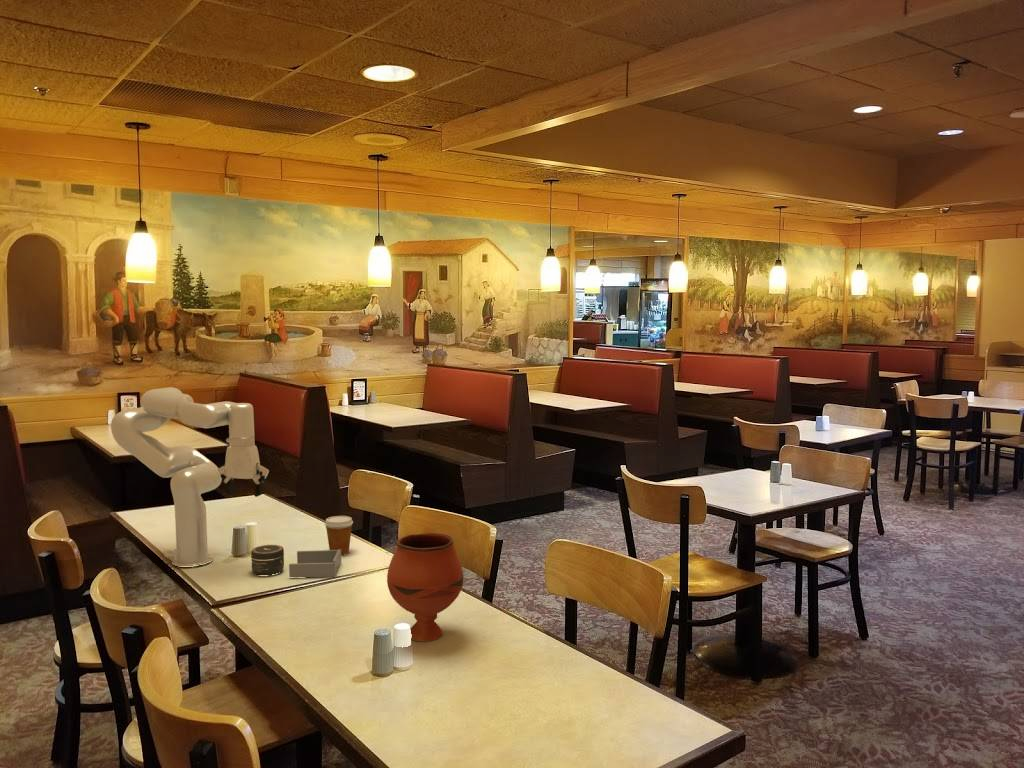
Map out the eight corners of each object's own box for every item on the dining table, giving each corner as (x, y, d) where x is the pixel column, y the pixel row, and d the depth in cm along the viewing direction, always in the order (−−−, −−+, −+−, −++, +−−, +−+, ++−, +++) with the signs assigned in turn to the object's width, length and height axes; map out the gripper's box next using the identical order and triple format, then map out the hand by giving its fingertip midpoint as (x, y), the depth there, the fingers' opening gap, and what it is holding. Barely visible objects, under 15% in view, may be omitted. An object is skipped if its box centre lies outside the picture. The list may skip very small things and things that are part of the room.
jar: (274, 578, 246) (274, 554, 245) (245, 576, 248) (244, 552, 247) (290, 568, 256) (289, 545, 255) (261, 566, 258) (261, 543, 257)
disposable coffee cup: (350, 557, 266) (349, 522, 265) (322, 557, 267) (321, 522, 265) (356, 549, 276) (355, 515, 275) (329, 549, 276) (328, 515, 275)
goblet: (474, 625, 209) (474, 533, 206) (444, 655, 191) (443, 554, 188) (409, 616, 215) (408, 526, 213) (374, 644, 197) (372, 546, 195)
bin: (289, 578, 245) (289, 563, 245) (297, 564, 259) (297, 549, 259) (335, 577, 247) (334, 561, 246) (341, 563, 260) (340, 548, 260)
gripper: (210, 443, 249) (213, 496, 251) (260, 444, 246) (262, 499, 247) (224, 439, 257) (226, 491, 258) (273, 440, 253) (274, 493, 254)
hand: (244, 495), depth 253 cm, fingers open, 9 cm apart
